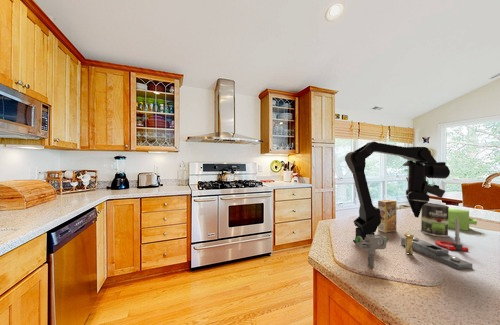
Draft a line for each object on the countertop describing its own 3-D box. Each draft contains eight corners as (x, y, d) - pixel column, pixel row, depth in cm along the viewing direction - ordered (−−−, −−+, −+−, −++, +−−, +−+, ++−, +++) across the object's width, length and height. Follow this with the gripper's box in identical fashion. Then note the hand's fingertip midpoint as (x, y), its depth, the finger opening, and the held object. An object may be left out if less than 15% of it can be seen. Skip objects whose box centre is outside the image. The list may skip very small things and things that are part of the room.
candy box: (385, 233, 100) (386, 202, 100) (377, 230, 104) (377, 200, 104) (396, 231, 104) (397, 200, 104) (388, 228, 108) (388, 199, 108)
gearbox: (429, 225, 117) (429, 209, 117) (432, 221, 123) (432, 206, 123) (476, 233, 103) (476, 214, 103) (477, 228, 109) (476, 211, 109)
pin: (409, 255, 76) (409, 236, 76) (402, 252, 78) (402, 234, 78) (415, 255, 76) (415, 236, 76) (408, 252, 79) (408, 233, 79)
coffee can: (453, 238, 95) (453, 207, 95) (425, 235, 99) (425, 205, 99) (442, 231, 104) (442, 204, 104) (417, 228, 108) (417, 202, 108)
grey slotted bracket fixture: (458, 269, 66) (458, 257, 66) (401, 244, 86) (401, 235, 86) (472, 268, 67) (472, 256, 67) (412, 243, 87) (412, 234, 87)
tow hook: (430, 242, 90) (447, 250, 81) (430, 213, 91) (446, 217, 82) (452, 244, 89) (471, 252, 80) (451, 214, 90) (470, 218, 80)
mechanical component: (353, 264, 68) (353, 234, 68) (382, 264, 69) (382, 234, 69) (358, 269, 65) (359, 238, 65) (389, 268, 66) (389, 237, 66)
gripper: (449, 180, 72) (447, 224, 72) (439, 178, 88) (437, 214, 88) (409, 177, 79) (407, 218, 79) (406, 176, 94) (405, 210, 94)
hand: (415, 215), depth 85 cm, fingers open, 9 cm apart
